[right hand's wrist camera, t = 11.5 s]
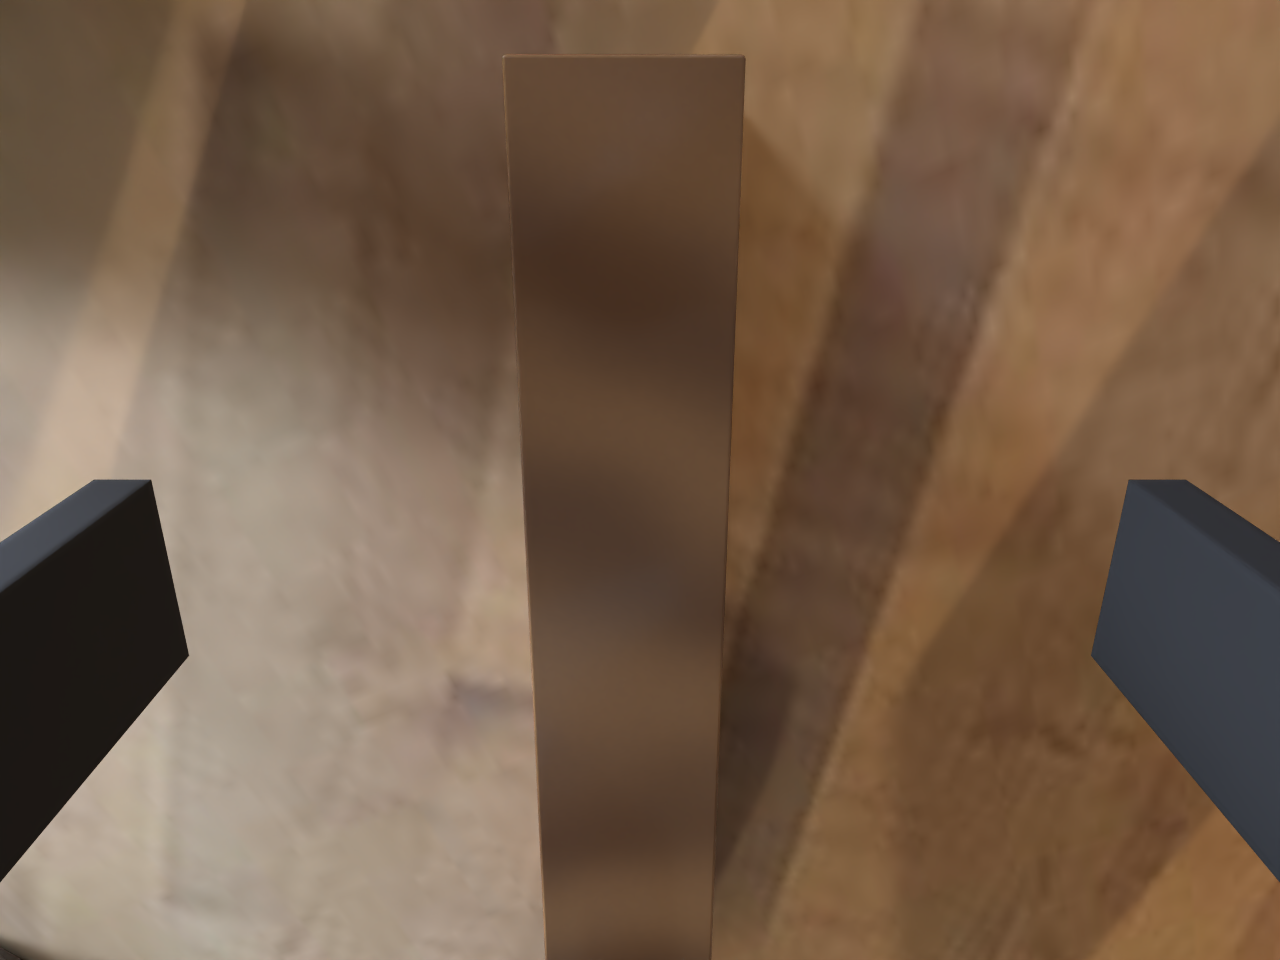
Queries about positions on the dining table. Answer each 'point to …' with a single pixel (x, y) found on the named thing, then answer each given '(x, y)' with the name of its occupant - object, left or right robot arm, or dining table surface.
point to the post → (625, 478)
